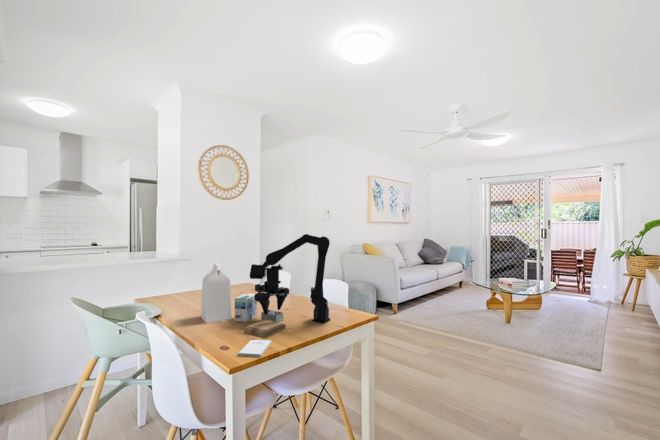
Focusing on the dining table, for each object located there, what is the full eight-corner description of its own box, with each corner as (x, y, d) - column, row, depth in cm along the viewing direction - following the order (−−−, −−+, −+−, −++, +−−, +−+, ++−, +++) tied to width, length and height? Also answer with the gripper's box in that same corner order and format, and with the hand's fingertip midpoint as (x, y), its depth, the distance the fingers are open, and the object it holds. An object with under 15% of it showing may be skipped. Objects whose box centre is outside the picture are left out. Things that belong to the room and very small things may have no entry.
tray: (285, 329, 127) (285, 323, 128) (266, 337, 117) (266, 331, 117) (264, 324, 134) (264, 318, 134) (244, 332, 123) (244, 326, 123)
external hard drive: (237, 357, 101) (250, 343, 113) (260, 358, 100) (271, 344, 112) (237, 353, 101) (250, 339, 113) (260, 354, 100) (271, 340, 112)
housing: (282, 321, 139) (283, 311, 139) (275, 324, 135) (276, 313, 135) (268, 317, 144) (268, 308, 144) (261, 320, 139) (261, 310, 139)
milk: (231, 318, 141) (232, 264, 142) (206, 323, 135) (206, 266, 135) (224, 312, 151) (225, 261, 152) (200, 316, 145) (201, 263, 145)
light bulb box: (247, 322, 136) (247, 298, 137) (233, 321, 138) (234, 298, 138) (257, 315, 147) (257, 293, 147) (244, 314, 148) (245, 293, 149)
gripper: (272, 274, 152) (272, 305, 151) (245, 280, 136) (245, 314, 135) (290, 276, 146) (289, 308, 146) (263, 282, 130) (263, 318, 130)
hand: (272, 312), depth 139 cm, fingers open, 9 cm apart
